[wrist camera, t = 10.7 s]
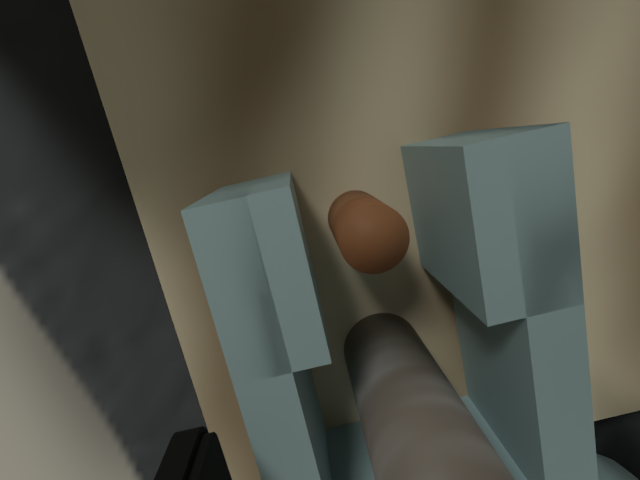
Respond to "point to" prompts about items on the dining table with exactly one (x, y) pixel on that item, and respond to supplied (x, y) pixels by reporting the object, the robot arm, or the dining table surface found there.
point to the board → (373, 182)
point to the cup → (612, 470)
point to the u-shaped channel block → (450, 270)
